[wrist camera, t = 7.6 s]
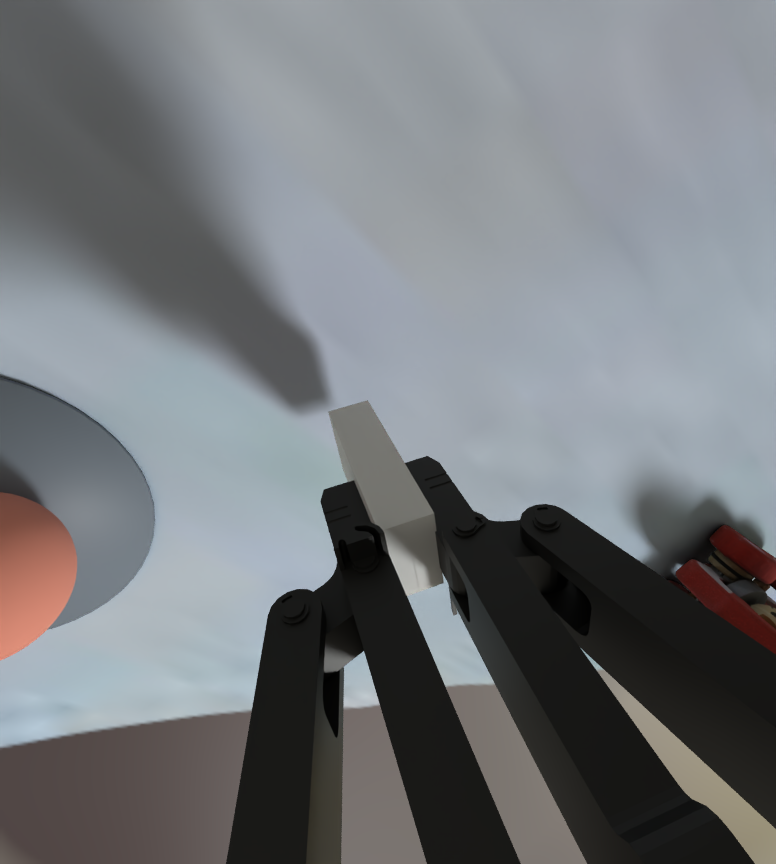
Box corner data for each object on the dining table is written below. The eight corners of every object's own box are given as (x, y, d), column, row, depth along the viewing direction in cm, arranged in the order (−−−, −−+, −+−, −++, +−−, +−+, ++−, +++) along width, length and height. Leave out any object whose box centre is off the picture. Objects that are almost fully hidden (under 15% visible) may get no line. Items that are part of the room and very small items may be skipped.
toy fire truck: (702, 507, 31) (886, 646, 23) (774, 555, 37) (940, 678, 29) (627, 583, 33) (771, 737, 24) (708, 617, 39) (845, 749, 31)
